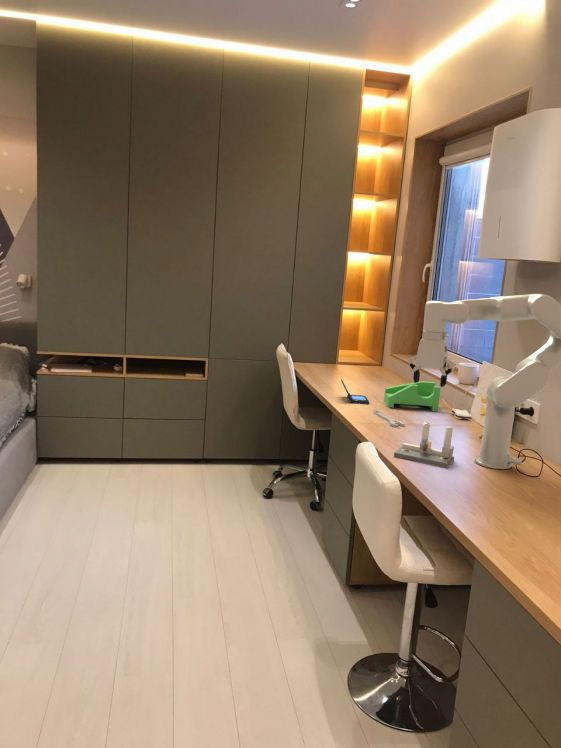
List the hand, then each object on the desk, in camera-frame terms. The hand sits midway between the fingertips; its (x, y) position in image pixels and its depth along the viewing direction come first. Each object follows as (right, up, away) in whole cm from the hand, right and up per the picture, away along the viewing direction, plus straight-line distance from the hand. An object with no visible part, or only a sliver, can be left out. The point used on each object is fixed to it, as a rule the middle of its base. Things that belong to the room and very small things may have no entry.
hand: (429, 384), depth 223 cm
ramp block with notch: (+11, -13, +85) cm, 87 cm away
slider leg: (-1, -24, +3) cm, 24 cm away
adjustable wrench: (-5, -17, +54) cm, 57 cm away
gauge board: (-2, -27, +1) cm, 27 cm away
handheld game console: (-16, -10, +90) cm, 92 cm away
